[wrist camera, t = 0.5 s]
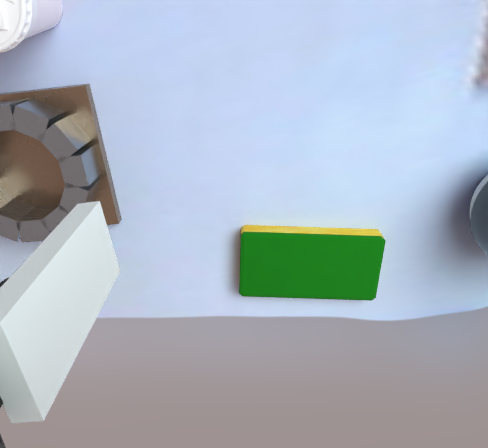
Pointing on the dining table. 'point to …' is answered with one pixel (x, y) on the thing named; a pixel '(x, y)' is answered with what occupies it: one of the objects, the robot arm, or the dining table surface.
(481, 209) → the pump dispenser
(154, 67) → the dining table surface
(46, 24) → the smoothie
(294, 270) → the dish sponge
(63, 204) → the stone fire pit ring
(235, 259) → the dining table surface
